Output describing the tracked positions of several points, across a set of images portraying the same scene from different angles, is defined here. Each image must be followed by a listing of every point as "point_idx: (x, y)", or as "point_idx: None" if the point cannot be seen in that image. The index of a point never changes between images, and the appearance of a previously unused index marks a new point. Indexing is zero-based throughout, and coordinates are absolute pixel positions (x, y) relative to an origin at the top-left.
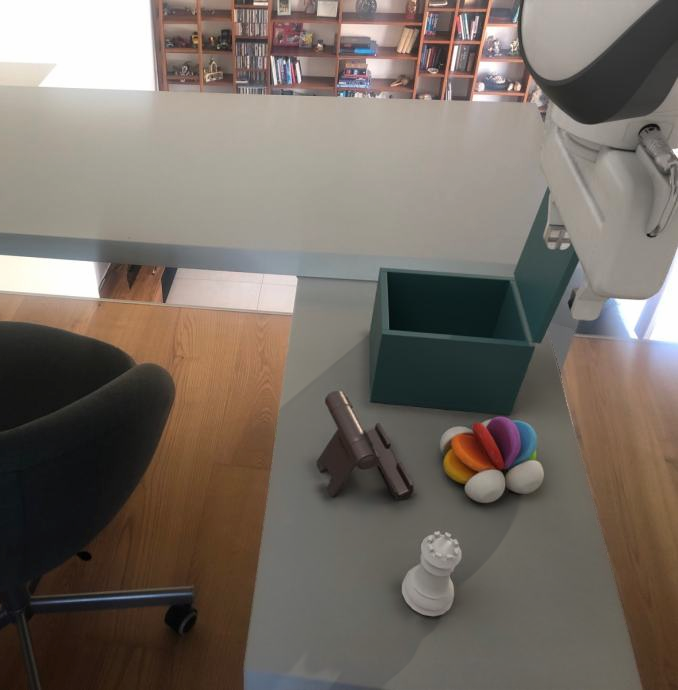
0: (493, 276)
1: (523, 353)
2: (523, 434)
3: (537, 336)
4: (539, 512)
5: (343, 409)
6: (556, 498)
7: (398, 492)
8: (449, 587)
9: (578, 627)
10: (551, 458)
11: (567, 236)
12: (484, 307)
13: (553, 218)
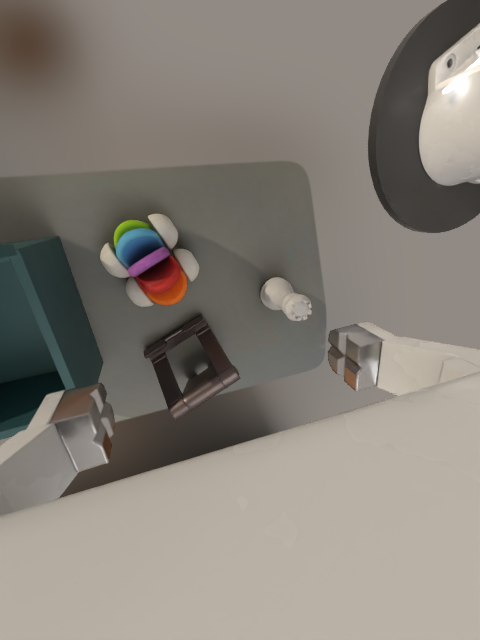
0: None
1: (29, 259)
2: (137, 242)
3: (11, 254)
4: (182, 212)
5: (194, 405)
6: (160, 195)
7: (205, 325)
8: (285, 285)
9: (276, 191)
10: (108, 195)
11: (98, 414)
12: None
13: (59, 483)
